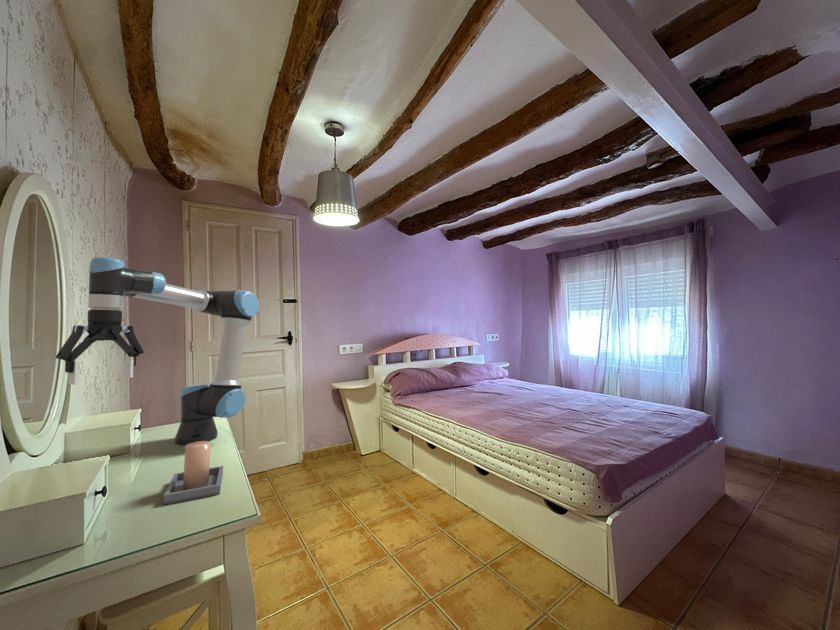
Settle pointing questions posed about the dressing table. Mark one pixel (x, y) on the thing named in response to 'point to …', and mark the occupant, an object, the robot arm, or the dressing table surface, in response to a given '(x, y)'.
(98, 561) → the dressing table surface
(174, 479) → the tray
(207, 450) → the peach domed cylinder
